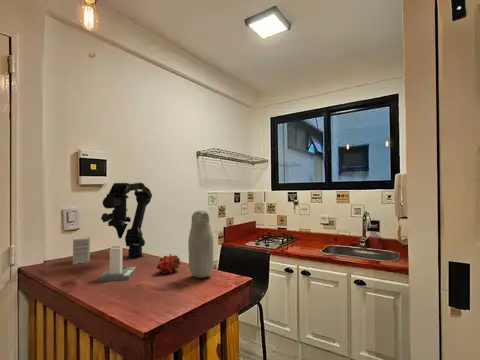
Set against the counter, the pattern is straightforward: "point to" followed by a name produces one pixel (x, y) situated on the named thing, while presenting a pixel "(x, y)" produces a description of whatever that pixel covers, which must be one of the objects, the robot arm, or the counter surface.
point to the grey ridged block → (81, 250)
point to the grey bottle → (200, 245)
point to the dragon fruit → (168, 264)
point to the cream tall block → (116, 259)
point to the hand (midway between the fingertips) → (120, 238)
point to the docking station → (125, 274)
